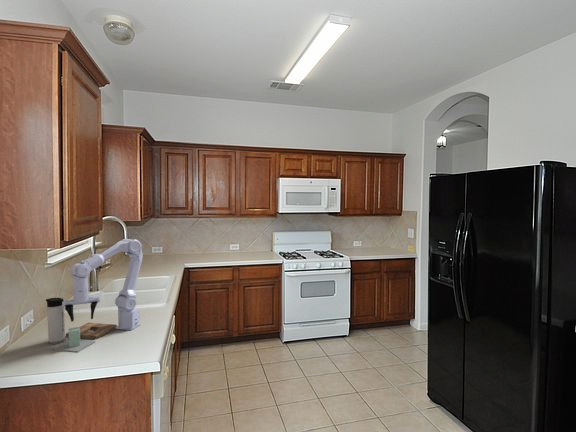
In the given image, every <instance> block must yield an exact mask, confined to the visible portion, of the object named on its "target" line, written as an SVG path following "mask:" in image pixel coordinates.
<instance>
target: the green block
mask: <svg viewBox="0 0 576 432" xmlns="http://www.w3.org/2000/svg"><path fill="white" fill-rule="evenodd" d="M68 332H69V337H68V341H69V348H70V347H75V346H80V340H81V338H80V326H77V327H71V328H68Z"/></svg>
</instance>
